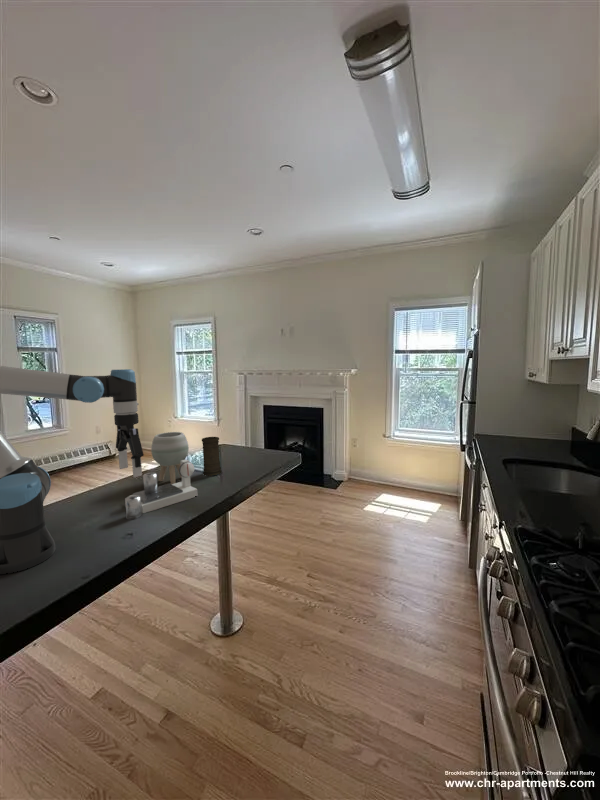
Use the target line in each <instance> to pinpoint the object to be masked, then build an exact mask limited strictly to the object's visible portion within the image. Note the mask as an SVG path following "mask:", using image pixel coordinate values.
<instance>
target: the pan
mask: <svg viewBox="0 0 600 800" xmlns="http://www.w3.org/2000/svg"><path fill="white" fill-rule="evenodd" d="M182 492H183V490H181V489H179V488H177V487H176V486H174V485H172V484H171V482H169V483H167V484H166V483H165V484H163V485H159V486H158V491H157V492H155V493H150V494H146V493H144V490H140V491H136V492H133V493H132V495H140V497H141V501H142V502H143V503H144V504H145V503H148V502H152V501H155V500H158V499H162V498H165V497H168V496H172V495H175V494H178V493H182Z"/></svg>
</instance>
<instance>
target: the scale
mask: <svg viewBox="0 0 600 800" xmlns="http://www.w3.org/2000/svg"><path fill="white" fill-rule="evenodd" d="M194 472H195V465H194V463H192V462H191V461H190V460H188V459H185V460H182V461H181V466H180V468H179V473H178V475H179V474H180V475H181V477H182V478H181V481H179V482H176V483H174V484H172V485H174V486H176V487H177V488H179V489H181V490H183V492H182V493H178V494H175V495H172V496H168V497H165V498H162V499H158V500H155V501H152V502H148V503H145V504H144V503H143V502H142V501H141V510H142V514H146V513H149V512H152V511H156V510H158V509H161V508H164V507H167V506H171V505H173V504H174V505H175V504H177V503H180V502H184V501H187V500H190V499H193V498H196V497H195V496H197V497H198V489H197V488H196V487H194V486H192V485H191V476H192V475H193V474H194ZM180 475H179V476H180ZM132 495H133V494H131V495H130V496H132Z"/></svg>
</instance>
